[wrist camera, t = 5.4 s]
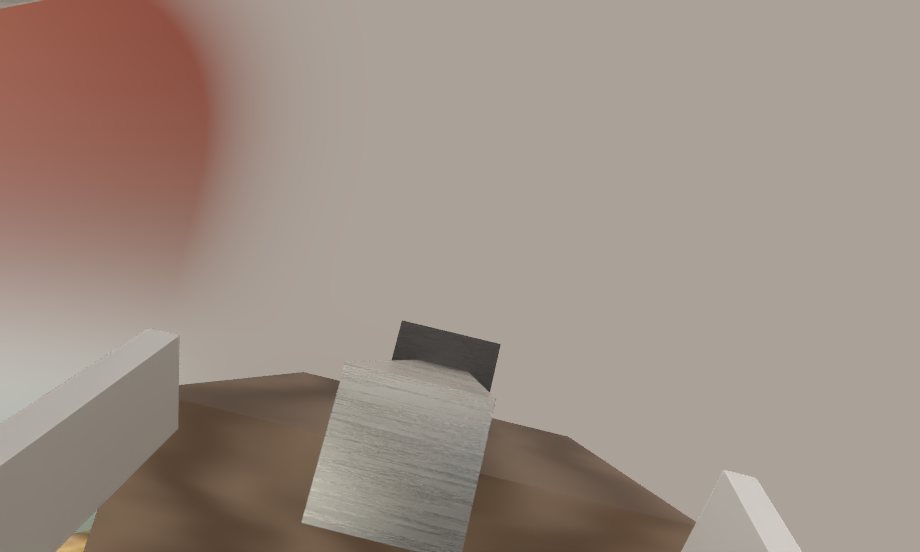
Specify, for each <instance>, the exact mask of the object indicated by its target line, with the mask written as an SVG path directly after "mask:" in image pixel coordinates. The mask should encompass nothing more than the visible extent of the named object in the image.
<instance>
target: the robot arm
mask: <svg viewBox="0 0 920 552" xmlns="http://www.w3.org/2000/svg"><path fill="white" fill-rule="evenodd" d="M36 1H41V0H0V8H5V7H10V6H15V5H21V4H26V3H31V2H36ZM178 408H179V335H175V334H171V333H167V332H163V331H159V330H155V329H151V328H147V329H146V330H144V331H143V332H141V333H140V334H138V335H137V336H135V337H134V338H132V339H130V340H129V341H127V342H126V343H124V344H123V345H121V346H120V347H118V348H117V349H115V350H113V351H112V352H110V353H109V354H107V355H106V356H104V357H103V358H101V359H100V360H98V361H96V362H95V363H94V364H92V365H90V366H89V367H87V368H86V369H84V370H83V371H81V372H79V373H78V374H76V375H75V376H74V377H72V378H70V379H69V380H67V381H65V382H64V383H62V384H61V385H59V386H58V387H56V388H55V389H53V390H52V391H50V392H48V393H47V394H45V395H44V396H42V397H41V398H39V399H38V400H36V401H35V402H33V403H31V404H30V405H28V406H27V407H25V408H24V409H22V410H21V411H19V412H18V413H16V414H14V415H13V416H11V417H10V418H8V419H7V420H5V421H4V422H2V423H1V424H0V552H56V551H57V550H58V549H59V548H60V547H61V546H62V545H63V544H64V543H65V542H66V541H67V540H68V538H69V537H70V536H71V535H72V534H73V533H74V532H75V531H76V530H77V529H78V528H79V527H80V526H81V525H82V524H83V523H84V522H85V521H86V520H87V519H88V518H89V517H90V516H91V515H92V514H93V513H94V512H95V511H96V510H97V509H98V508H99V507H100V506H101V505H102V504H103V503H104V502H105V501H106V500H107V499H108V498H109V497H110V496H111V495H112V494H113V493H114V492H115V491H116V490H117V489H118V488H119V487H120V486H121V485H122V484H123V483H124V482H125V481H126V480H127V479H128V478H129V477H130V476H131V475H132V474H133V473H134V472H135V471H136V470H137V469H138V468H139V467H140V466H141V465H142V464H143V463H144V462H145V461H146V460H147V459H148V458H149V457H150V456H151V455H152V454H153V453H154V452H155V451H156V450H157V449H158V448H159V447H160V446H161V445H162V444H163V443H164V442H165V441H166V440H167V439H168V438H169V437H170V436H171V435H172V434H173V433H174V432H175V431H176V430H177V429H178ZM681 552H802V551H801V549H800V548H799V546H798V545H797V543H796V541H795V540H794V538H793V537H792V535H791V533H790V532H789V530H788V529H787V527H786V525H785V524H784V522H783V521H782V519H781V517H780V516H779V514H778V512H777V511H776V509H775V508H774V506H773V504H772V503H771V501H770V500H769V498H768V496H767V495H766V493H765V492H764V490H763V488H762V487H761V485H760V483H759V482H758V480H757V479H756V478H754V477H750V476H746V475H742V474H738V473H734V472H730V471H726V470H723V472H722V474H721V476H720V477H719V479H718V481H717V483H716V486H715V487H714V489H713V491H712V493H711V495H710V497H709V499H708V501H707V503H706V504H705V506H704V508H703V510H702V512H701V514H700V516H699V518H698V520H697V522H696V524H695V526H694V528H693V529H692V531H691V533H690V535H689V537H688V539H687V541H686V543H685V545H684V547H683V549H682V551H681Z"/></svg>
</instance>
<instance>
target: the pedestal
mask: <svg viewBox="0 0 920 552" xmlns="http://www.w3.org/2000/svg"><path fill="white" fill-rule="evenodd" d="M339 383H340V381H337V380H333V379H329V378H325V377H321V376H317V375H312V374H308V373H304V372H302V373H292V374H282V375H273V376H263V377H253V378H244V379H234V380H225V381H215V382H205V383H195V384H186V385H179V408H178V429H177V430H176V431H175V432H174V433H173V434H172V435H171V436H170V437H169V438H168V439H167V440H166V441H165V442H164V443H163V444H162V445H161V446H160V447H159V448H158V449H157V450H156V451H155V452H154V453H153V454H152V455H151V456H150V457H149V458H148V459H147V460H146V461H145V462H144V463H143V464H142V465H141V466H140V467H139V468H138V469H137V470H136V471H135V472H134V473H133V474H132V475H131V476H130V477H129V478H128V479H127V480H126V481H125V482H124V483H123V484H122V485H121V486H120V487H119V488H118V489H117V490H116V491H115V492H114V493H113V494H112V495H111V496H110V497H109V498H108V499H107V500H106V501H105V502H104V503H103V504H102V505H101V506H100V507H99V508H98V510H97V513H96V516H95V519H94V522H93V525H92V528H91V531H90V534H89V537H88V540H87V543H86V546H85V549H84V552H415V551H411V550H407V549H403V548H399V547H395V546H391V545H387V544H384V543H380V542H376V541H372V540H368V539H364V538H360V537H356V536H352V535H348V534H344V533H340V532H336V531H332V530H328V529H324V528H320V527H316V526H313V525H309V524H305V523H301V522H302V518H303V515H304V511H305V507H306V504H307V500H308V496H309V493H310V489H311V485H312V482H313V478H314V474H315V471H316V467H317V463H318V460H319V456H320V452H321V449H322V445H323V441H324V438H325V434H326V430H327V427H328V423H329V419H330V416H331V412H332V408H333V405H334V401H335V397H336V394H337V390H338V386H339ZM695 524H696V522H695V521H694V520H692V519H691V518H689V517H687V516H686V515H684V514H683V513H681V512H680V511H679V510H677V509H676V508H674V507H672V506H671V505H670V504H668V503H666V502H665V501H664V500H662V499H661V498H659V497H658V496H656V495H654V494H653V493H652V492H650V491H648V490H647V489H646V488H644V487H643V486H641V485H639V484H638V483H637V482H635V481H633V480H632V479H630V478H629V477H628V476H626V475H625V474H623V473H622V472H620V471H619V470H617V469H616V468H614V467H612V466H611V465H610V464H608V463H606V462H605V461H604V460H602V459H601V458H599V457H598V456H596V455H595V454H593V453H592V452H590V451H589V450H587V449H586V448H584V447H583V446H581V445H579V444H578V443H577V442H575V441H574V440H572V439H571V438H569V437H567V436H562V435H558V434H554V433H550V432H546V431H542V430H538V429H534V428H529V427H526V426H521V425H517V424H513V423H509V422H505V421H501V420H497V419H491V424H490V428H489V433H488V437H487V442H486V446H485V451H484V455H483V460H482V464H481V469H480V473H479V478H478V482H477V487H476V491H475V496H474V500H473V505H472V509H471V514H470V519H469V523H468V528H467V532H466V537H465V541H464V546H463V550H462V552H681V551H682V549H683V547H684V545H685V543H686V541H687V539H688V537H689V535H690V533H691V531H692V529H693V528H694V526H695Z"/></svg>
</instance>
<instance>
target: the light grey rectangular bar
mask: <svg viewBox="0 0 920 552" xmlns="http://www.w3.org/2000/svg"><path fill="white" fill-rule="evenodd" d="M499 349H500V344H497V343H493V342H489V341H485V340H481V339H476V338H472V337H468V336H464V335H460V334H456V333H452V332H447V331H443V330H439V329H435V328H431V327H427V326H423V325H418V324H414V323H410V322H406V321H402V323H401V327H400V330H399V334H398V338H397V342H396V346H395V350H394V354H393V358H392V361H361V362H345V365H344V369H343V372H342V375H341V379H340V383H339V386H338V390H337V394H336V397H335V401H334V405H333V408H332V412H331V416H330V419H329V423H328V427H327V430H326V434H325V438H324V441H323V445H322V449H321V452H320V456H319V460H318V463H317V467H316V471H315V474H314V478H313V482H312V485H311V489H310V493H309V496H308V500H307V504H306V507H305V511H304V515H303V518H302V522H301V523H305V524H309V525H313V526H316V527H320V528H324V529H328V530H332V531H336V532H340V533H344V534H348V535H352V536H356V537H360V538H364V539H368V540H372V541H376V542H380V543H384V544H387V545H391V546H395V547H399V548H403V549H407V550H411V551H415V552H462V550H463V546H464V541H465V537H466V532H467V528H468V523H469V519H470V514H471V509H472V505H473V500H474V496H475V491H476V487H477V482H478V478H479V473H480V469H481V464H482V460H483V455H484V451H485V446H486V442H487V437H488V433H489V428H490V424H491V419H492V414H493V410H494V405H495V401H496V399H495V397H493V396H492V395H491V394H490V389H491V384H492V380H493V375H494V371H495V367H496V362H497V357H498V353H499Z"/></svg>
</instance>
